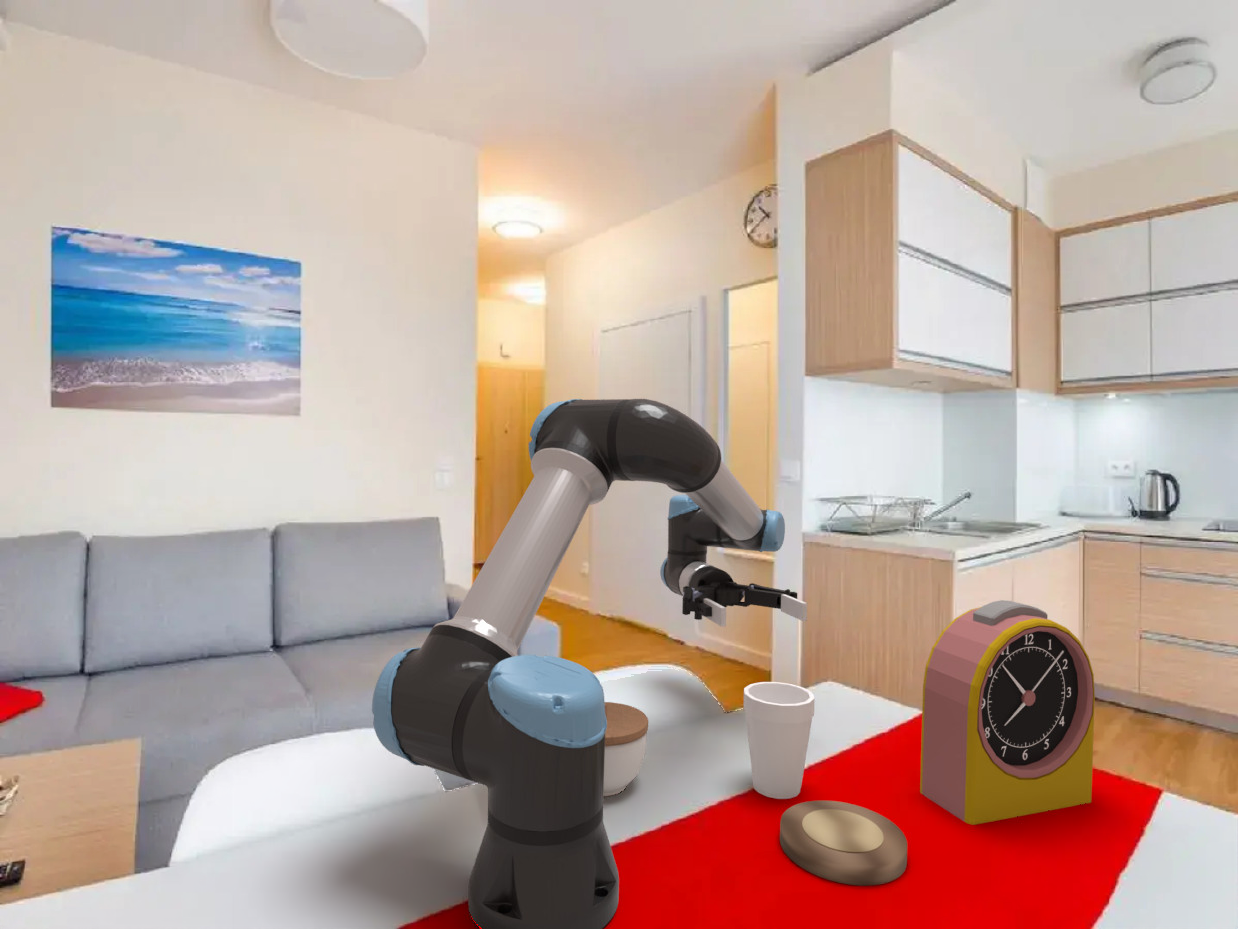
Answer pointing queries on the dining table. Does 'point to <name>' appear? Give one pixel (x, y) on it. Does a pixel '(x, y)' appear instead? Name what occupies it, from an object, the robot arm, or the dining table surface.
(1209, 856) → the dining table surface
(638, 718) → the lidded bowl
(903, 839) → the walnut stand
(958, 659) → the alarm clock
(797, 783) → the foam cup
